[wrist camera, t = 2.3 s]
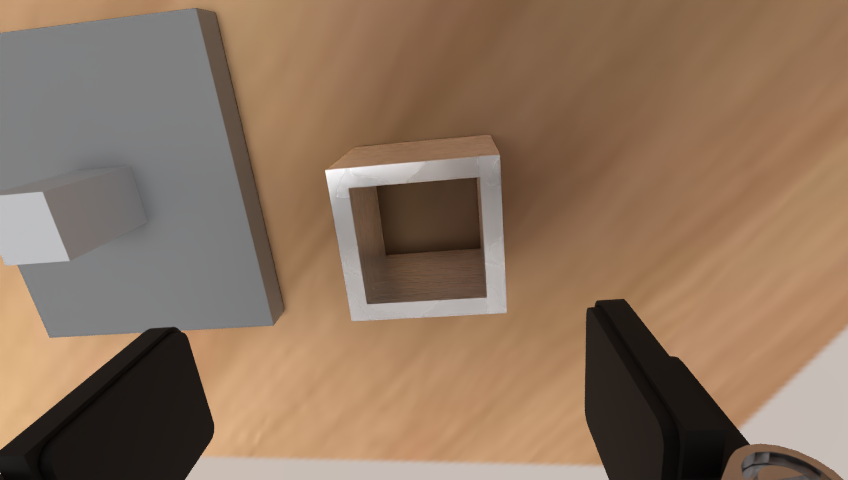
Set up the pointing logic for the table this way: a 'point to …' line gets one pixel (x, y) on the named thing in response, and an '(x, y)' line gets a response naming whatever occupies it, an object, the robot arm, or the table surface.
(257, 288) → the stand
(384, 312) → the collar
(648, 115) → the table surface
